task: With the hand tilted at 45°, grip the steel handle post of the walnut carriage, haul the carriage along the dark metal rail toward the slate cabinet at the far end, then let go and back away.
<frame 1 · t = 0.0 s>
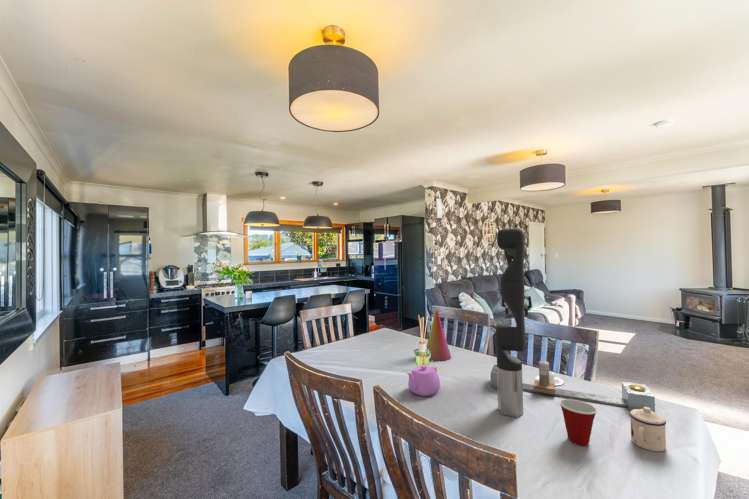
hand: (516, 315, 169), 29 cm above the table, tool pointing down, fingers open, 8 cm apart
decorative cone: (437, 357, 196), on the table
candle holder: (549, 382, 157), on the table
teacup with lid: (646, 446, 105), on the table
rail: (565, 394, 142), on the table
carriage: (544, 375, 146), point 7 cm above the table, slide at 0.0 cm
teapot: (422, 392, 148), on the table
plastic cup: (578, 441, 108), on the table
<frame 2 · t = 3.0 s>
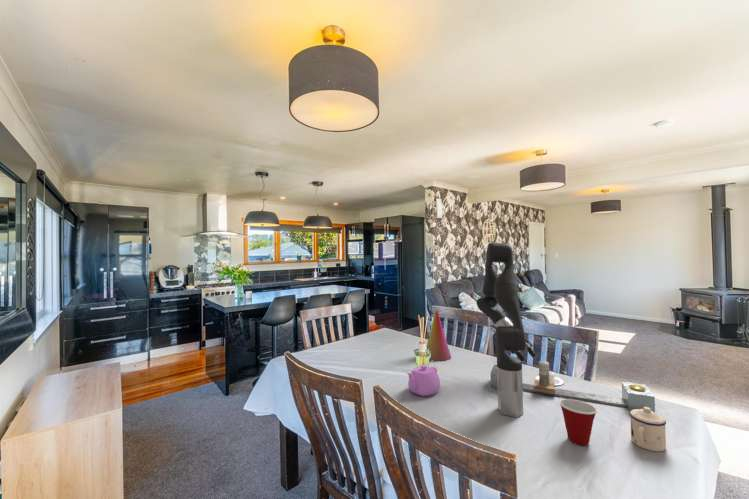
hand: (529, 358, 151), 13 cm above the table, tool tilted 45°, fingers open, 8 cm apart
nothing on the table moved.
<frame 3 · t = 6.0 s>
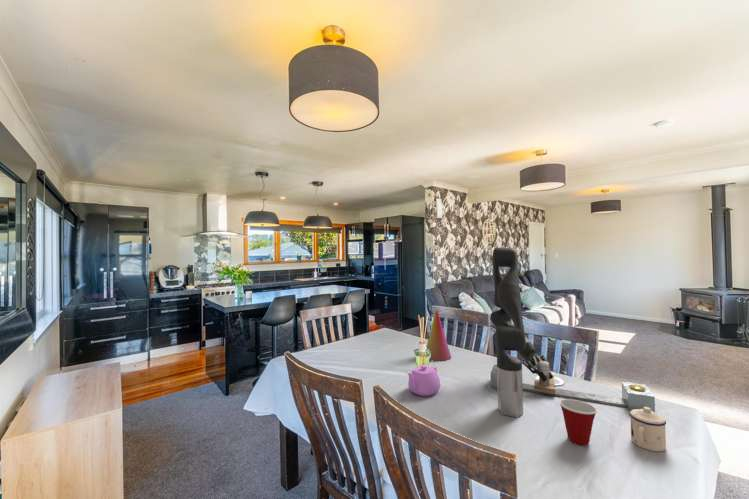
hand: (548, 379, 144), 6 cm above the table, tool tilted 45°, fingers closed on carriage, 4 cm apart
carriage: (544, 375, 146), point 7 cm above the table, slide at 0.0 cm, touching gripper
everything else where it was.
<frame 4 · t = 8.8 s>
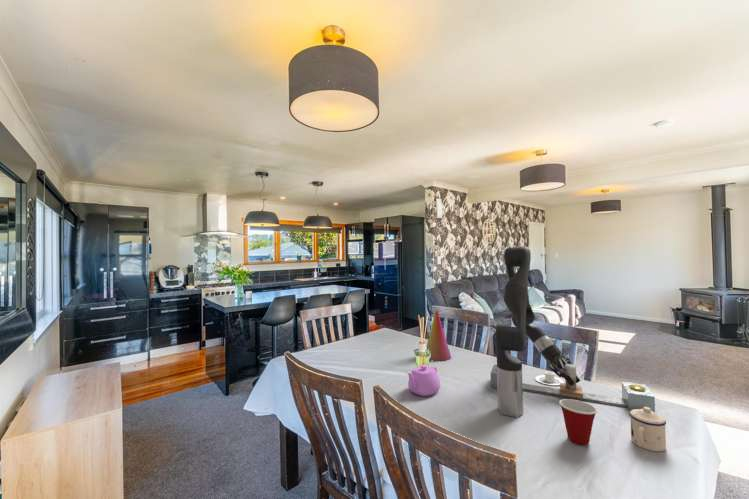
hand: (575, 383, 139), 6 cm above the table, tool tilted 45°, fingers closed on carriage, 4 cm apart
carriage: (570, 379, 141), point 7 cm above the table, slide at 10.2 cm, touching gripper
everything else where it was.
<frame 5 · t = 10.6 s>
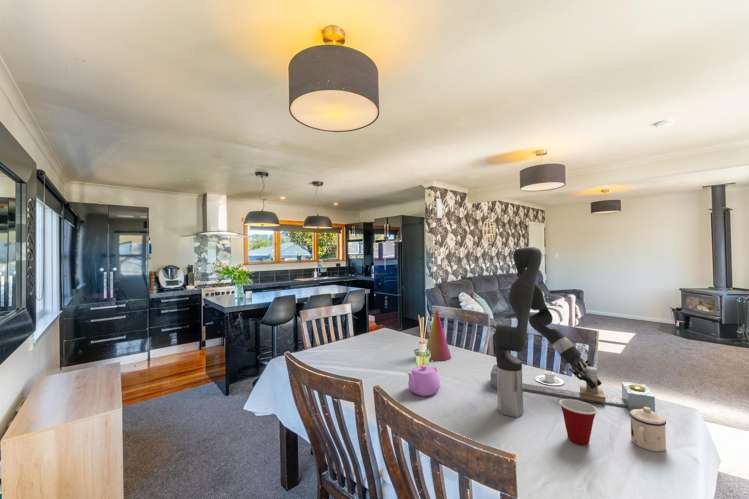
hand: (597, 386, 136), 6 cm above the table, tool tilted 45°, fingers closed on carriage, 4 cm apart
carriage: (591, 382, 137), point 7 cm above the table, slide at 17.8 cm, touching gripper
everything else where it was.
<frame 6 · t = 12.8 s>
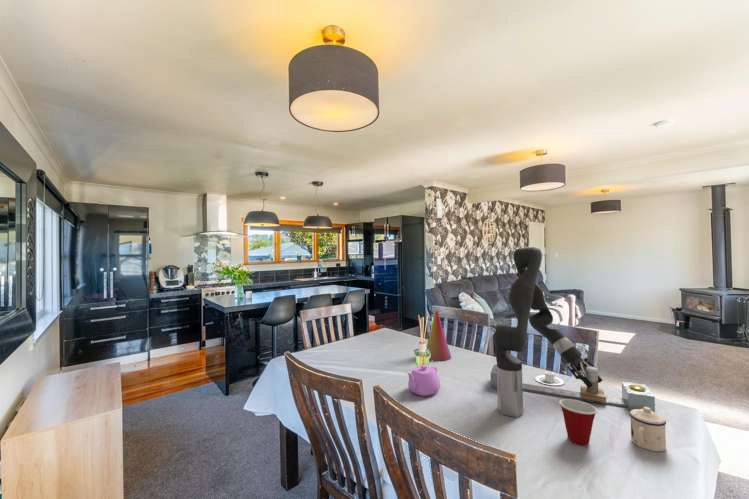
hand: (595, 384, 136), 7 cm above the table, tool tilted 45°, fingers open, 8 cm apart
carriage: (592, 382, 137), point 7 cm above the table, slide at 18.0 cm
everything else where it was.
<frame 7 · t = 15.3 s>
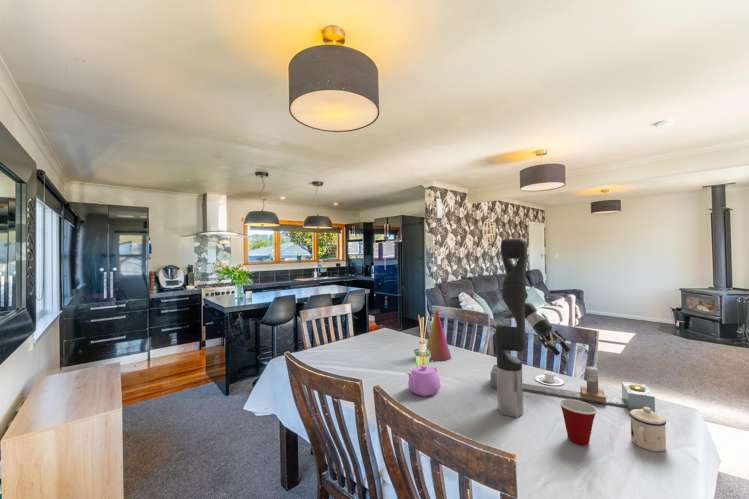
hand: (563, 352, 147), 17 cm above the table, tool tilted 45°, fingers open, 8 cm apart
nothing on the table moved.
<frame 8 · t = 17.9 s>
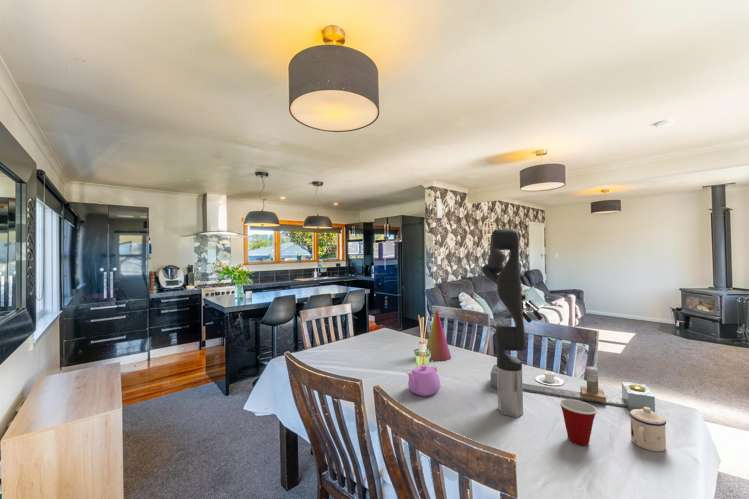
hand: (536, 320, 151), 31 cm above the table, tool tilted 45°, fingers open, 8 cm apart
nothing on the table moved.
at the end: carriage slide at 18.0 cm; the gripper is holding nothing; candle holder moved 0.6 cm from its start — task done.
